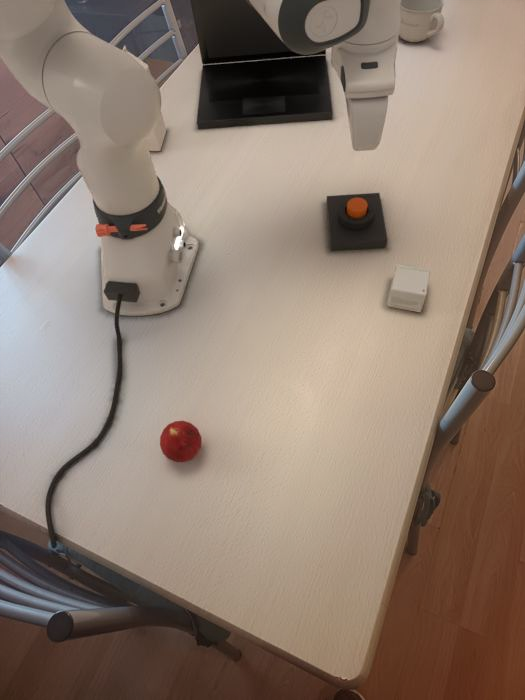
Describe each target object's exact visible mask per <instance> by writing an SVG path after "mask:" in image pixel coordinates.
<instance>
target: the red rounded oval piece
mask: <svg viewBox="0 0 525 700" xmlns="http://www.w3.org/2000/svg"><path fill="white" fill-rule="evenodd" d="M159 446H160V449H161V452H162V454H163V455H164V456H165V458H166V459H167V460H170V461H173V462H174V463H186V462H189V461H191V460H193V459H194V458H195V457H196V456H197V455H198V454H199V452H200V450H201V448H202V436H201V432H200V431H199V429H198V428H197V426H195V425H194V424H192V423H191V422H189V421H185V420H176V421H173V422H170V423H168V424H167V425H166V426H165V427H164V429H163V430H162V432H161V434H160V437H159Z"/></svg>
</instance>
